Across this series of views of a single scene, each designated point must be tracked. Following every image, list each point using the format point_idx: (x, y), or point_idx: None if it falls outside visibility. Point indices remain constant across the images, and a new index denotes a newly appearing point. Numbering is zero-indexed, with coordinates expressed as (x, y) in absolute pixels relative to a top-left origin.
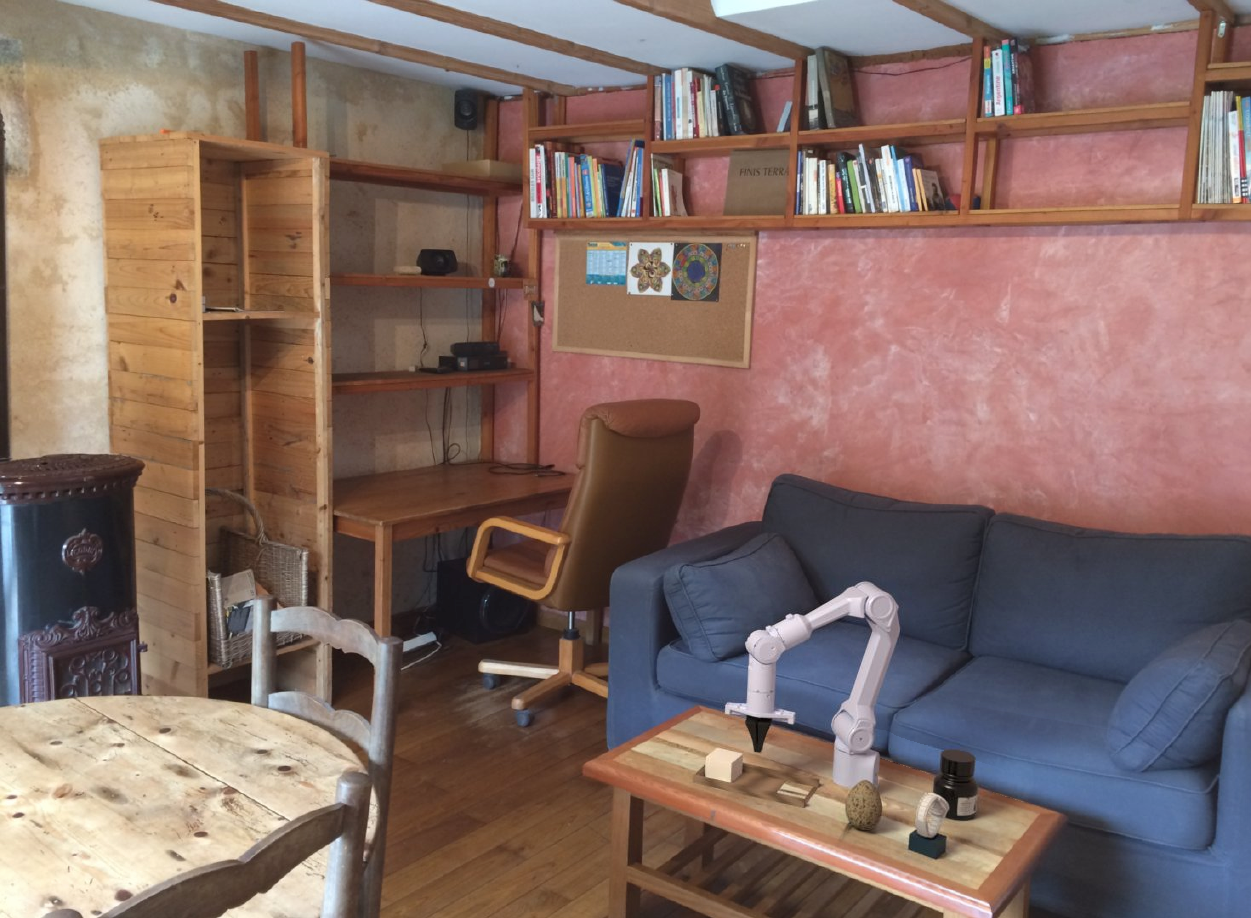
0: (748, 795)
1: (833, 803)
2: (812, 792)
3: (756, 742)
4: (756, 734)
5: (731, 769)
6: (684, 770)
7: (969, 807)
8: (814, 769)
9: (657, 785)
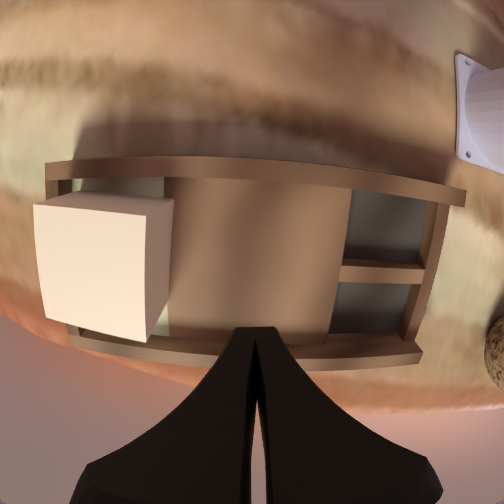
0: None
1: (469, 241)
2: (437, 247)
3: (253, 432)
4: (250, 478)
5: (154, 324)
6: (23, 213)
7: None
8: (391, 14)
9: (29, 326)
